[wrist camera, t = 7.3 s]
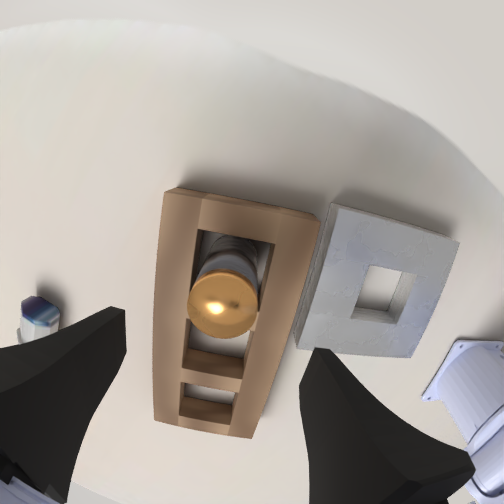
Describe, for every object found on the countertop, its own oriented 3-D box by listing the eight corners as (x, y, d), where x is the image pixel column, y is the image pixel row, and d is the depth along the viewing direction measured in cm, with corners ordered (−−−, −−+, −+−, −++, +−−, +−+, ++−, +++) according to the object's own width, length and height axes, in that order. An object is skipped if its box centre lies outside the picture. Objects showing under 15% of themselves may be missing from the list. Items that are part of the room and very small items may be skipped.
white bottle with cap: (49, 332, 18) (52, 470, 22) (85, 304, 24) (69, 441, 28) (6, 302, 17) (21, 450, 21) (46, 281, 24) (40, 423, 28)
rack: (312, 214, 18) (320, 222, 16) (252, 419, 25) (251, 438, 22) (175, 187, 18) (164, 191, 16) (160, 401, 24) (154, 420, 22)
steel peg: (261, 239, 19) (264, 284, 12) (252, 283, 20) (249, 343, 13) (213, 230, 19) (190, 270, 12) (206, 274, 20) (183, 331, 13)
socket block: (445, 235, 19) (459, 242, 17) (401, 344, 22) (410, 358, 20) (330, 202, 18) (339, 208, 16) (293, 333, 21) (296, 348, 19)
